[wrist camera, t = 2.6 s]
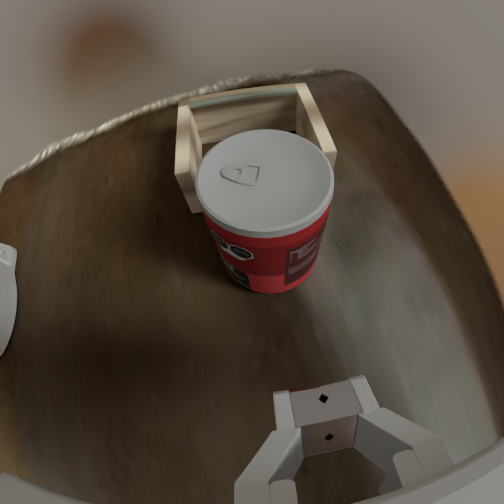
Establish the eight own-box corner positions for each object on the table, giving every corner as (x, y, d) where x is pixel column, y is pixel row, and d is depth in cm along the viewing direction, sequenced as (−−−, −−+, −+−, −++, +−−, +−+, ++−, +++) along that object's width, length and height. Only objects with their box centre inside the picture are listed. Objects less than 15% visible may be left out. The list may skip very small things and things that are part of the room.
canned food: (222, 222, 28) (195, 136, 18) (307, 212, 28) (318, 123, 18) (226, 301, 25) (191, 241, 15) (322, 291, 24) (350, 224, 15)
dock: (328, 193, 28) (337, 148, 23) (192, 213, 29) (173, 172, 23) (303, 123, 33) (305, 80, 27) (191, 139, 33) (178, 98, 28)
